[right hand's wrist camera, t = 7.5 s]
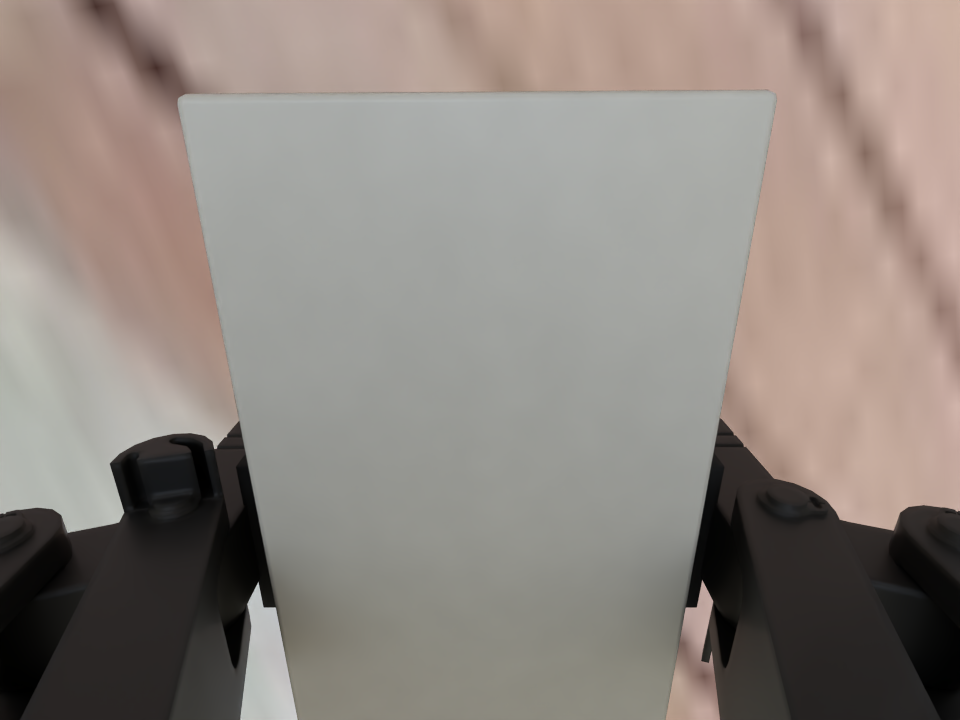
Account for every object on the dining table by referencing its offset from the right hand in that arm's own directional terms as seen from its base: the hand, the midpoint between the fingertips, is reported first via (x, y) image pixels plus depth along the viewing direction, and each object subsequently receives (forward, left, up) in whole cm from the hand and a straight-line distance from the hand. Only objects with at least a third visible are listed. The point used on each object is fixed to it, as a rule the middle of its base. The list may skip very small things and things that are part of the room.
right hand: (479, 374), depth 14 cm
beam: (+23, -5, -1) cm, 23 cm away
